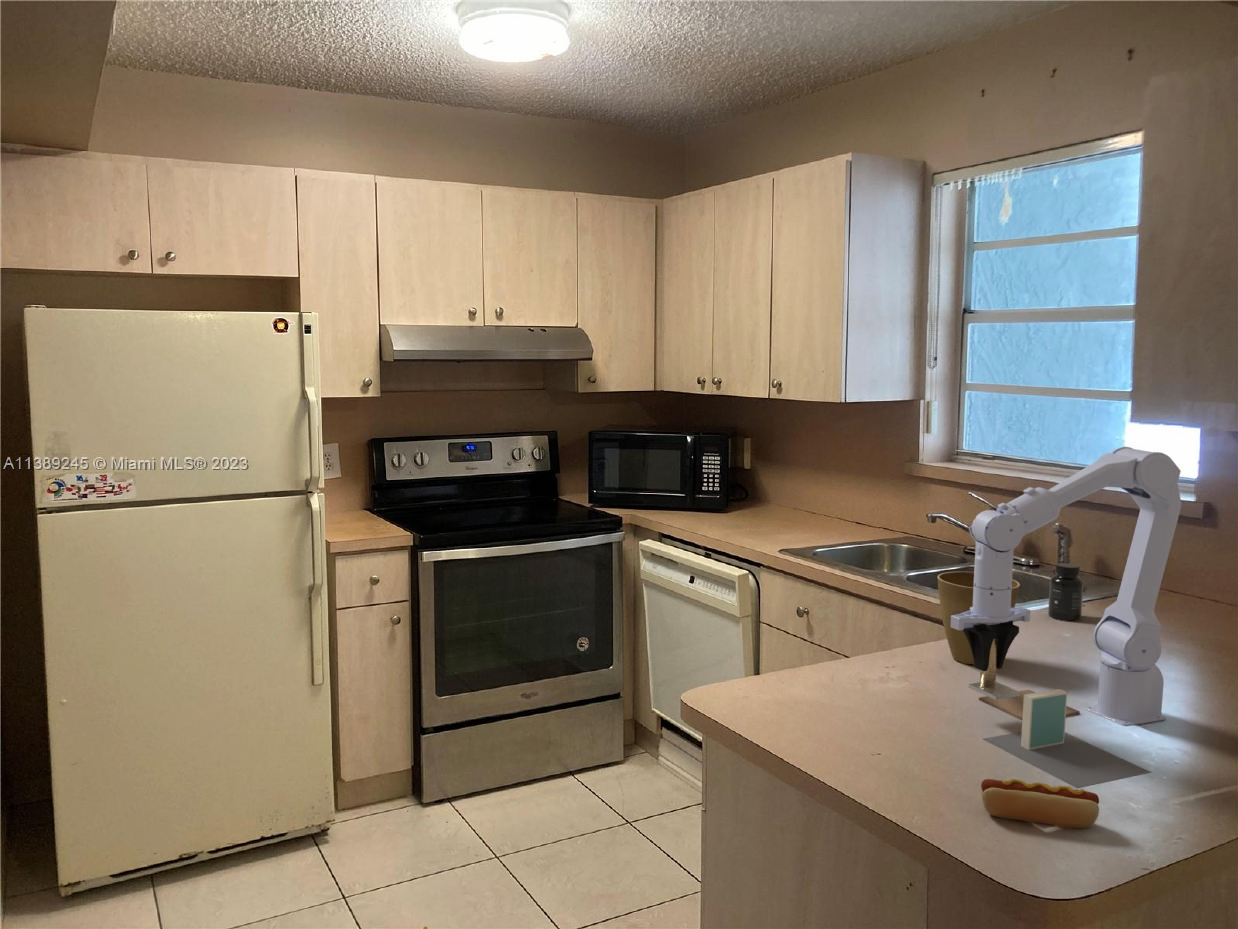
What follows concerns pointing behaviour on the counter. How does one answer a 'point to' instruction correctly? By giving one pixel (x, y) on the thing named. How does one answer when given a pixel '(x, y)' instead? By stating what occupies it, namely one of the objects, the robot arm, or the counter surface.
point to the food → (1040, 803)
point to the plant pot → (960, 609)
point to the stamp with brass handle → (993, 679)
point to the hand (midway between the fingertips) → (988, 668)
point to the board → (1016, 705)
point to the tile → (1043, 719)
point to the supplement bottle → (1066, 593)
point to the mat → (1070, 760)
